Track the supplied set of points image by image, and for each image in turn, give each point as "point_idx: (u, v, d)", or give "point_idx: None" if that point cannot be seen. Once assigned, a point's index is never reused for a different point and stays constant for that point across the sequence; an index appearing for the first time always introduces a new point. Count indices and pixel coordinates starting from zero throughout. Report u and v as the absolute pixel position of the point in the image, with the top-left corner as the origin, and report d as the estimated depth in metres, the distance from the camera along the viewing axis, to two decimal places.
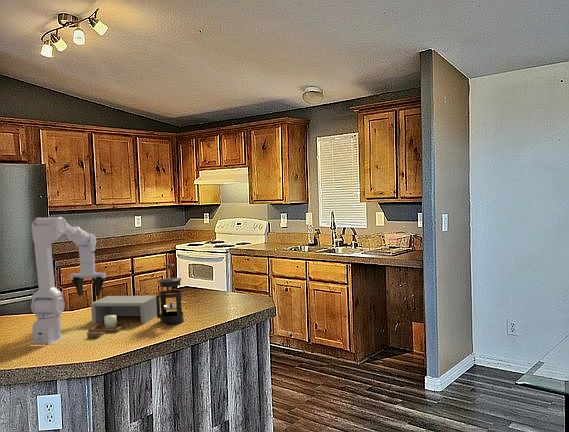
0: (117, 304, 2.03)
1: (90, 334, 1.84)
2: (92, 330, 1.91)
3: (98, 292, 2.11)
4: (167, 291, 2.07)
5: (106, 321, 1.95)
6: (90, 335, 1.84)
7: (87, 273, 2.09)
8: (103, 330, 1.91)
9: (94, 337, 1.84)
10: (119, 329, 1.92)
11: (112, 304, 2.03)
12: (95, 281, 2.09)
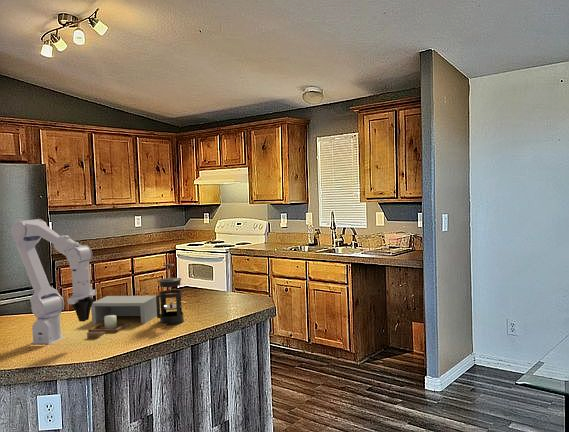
0: (117, 304, 2.03)
1: (90, 334, 1.84)
2: (92, 330, 1.91)
3: (80, 317, 1.77)
4: (167, 291, 2.07)
5: (106, 321, 1.95)
6: (89, 335, 1.84)
7: (73, 293, 1.77)
8: (103, 330, 1.91)
9: (94, 337, 1.84)
10: (119, 329, 1.92)
11: (112, 304, 2.03)
12: None
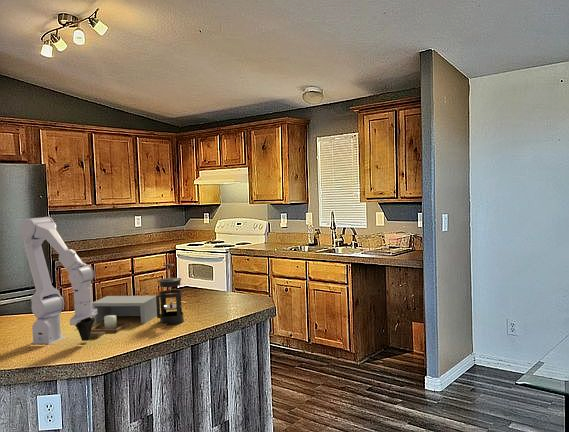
0: (117, 304, 2.03)
1: (90, 334, 1.84)
2: (92, 330, 1.91)
3: (82, 337, 1.78)
4: (167, 291, 2.07)
5: (106, 321, 1.95)
6: None
7: None
8: (103, 330, 1.91)
9: (94, 337, 1.84)
10: (119, 329, 1.92)
11: (112, 304, 2.03)
12: None
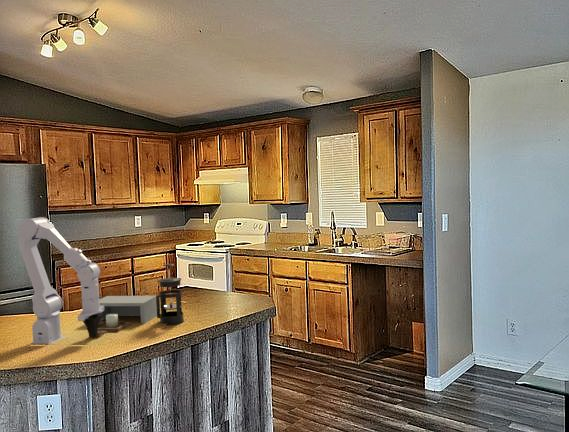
0: (117, 304, 2.03)
1: None
2: None
3: (90, 332, 1.83)
4: (167, 291, 2.07)
5: (107, 320, 1.96)
6: None
7: None
8: (104, 329, 1.92)
9: (95, 336, 1.85)
10: (120, 328, 1.93)
11: (112, 304, 2.03)
12: None
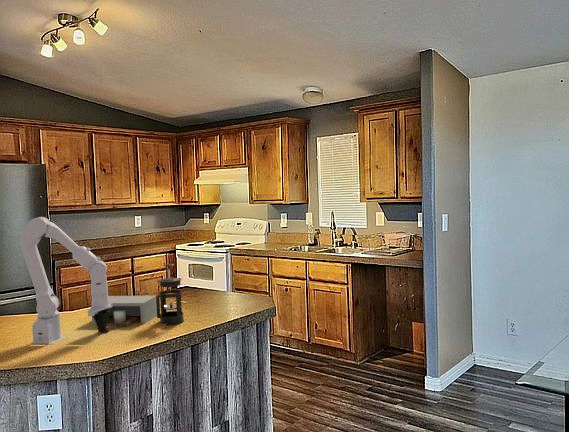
0: (117, 304, 2.03)
1: None
2: None
3: (99, 327, 1.90)
4: (167, 291, 2.07)
5: (115, 316, 2.03)
6: None
7: (92, 305, 1.89)
8: (113, 324, 1.98)
9: (104, 331, 1.91)
10: (128, 323, 2.00)
11: None
12: None
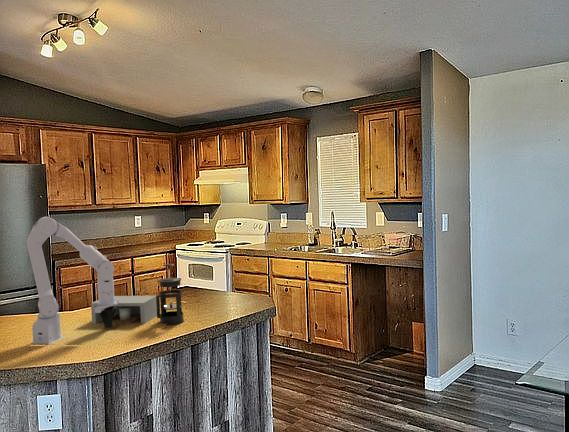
0: (117, 304, 2.03)
1: None
2: None
3: (105, 324, 1.94)
4: (167, 291, 2.07)
5: (121, 313, 2.07)
6: None
7: None
8: (118, 321, 2.03)
9: (111, 327, 1.96)
10: (133, 320, 2.04)
11: None
12: None
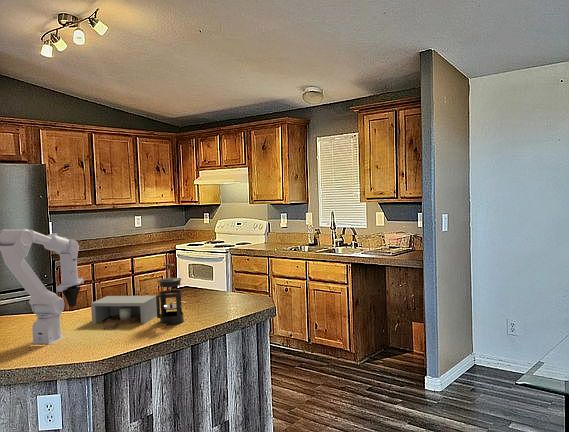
0: (117, 304, 2.03)
1: (107, 324, 1.96)
2: (108, 321, 2.04)
3: (69, 303, 1.96)
4: (167, 291, 2.07)
5: (121, 313, 2.07)
6: (106, 326, 1.96)
7: None
8: (118, 321, 2.03)
9: (111, 327, 1.96)
10: (133, 320, 2.04)
11: (112, 304, 2.03)
12: None
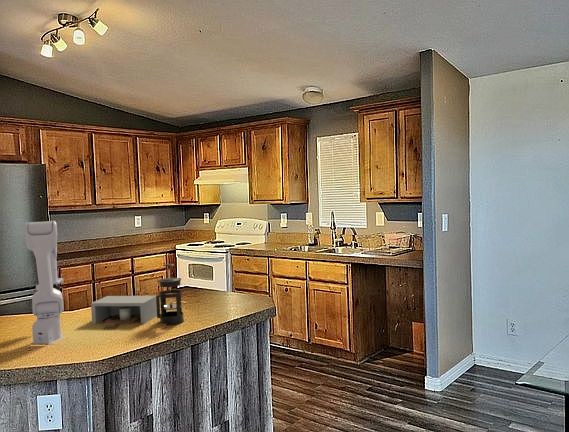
0: (117, 304, 2.03)
1: (107, 325, 1.96)
2: (108, 321, 2.04)
3: None
4: (167, 291, 2.07)
5: (121, 313, 2.07)
6: (106, 326, 1.96)
7: None
8: (118, 321, 2.03)
9: (110, 327, 1.96)
10: (133, 320, 2.04)
11: (112, 304, 2.03)
12: None
